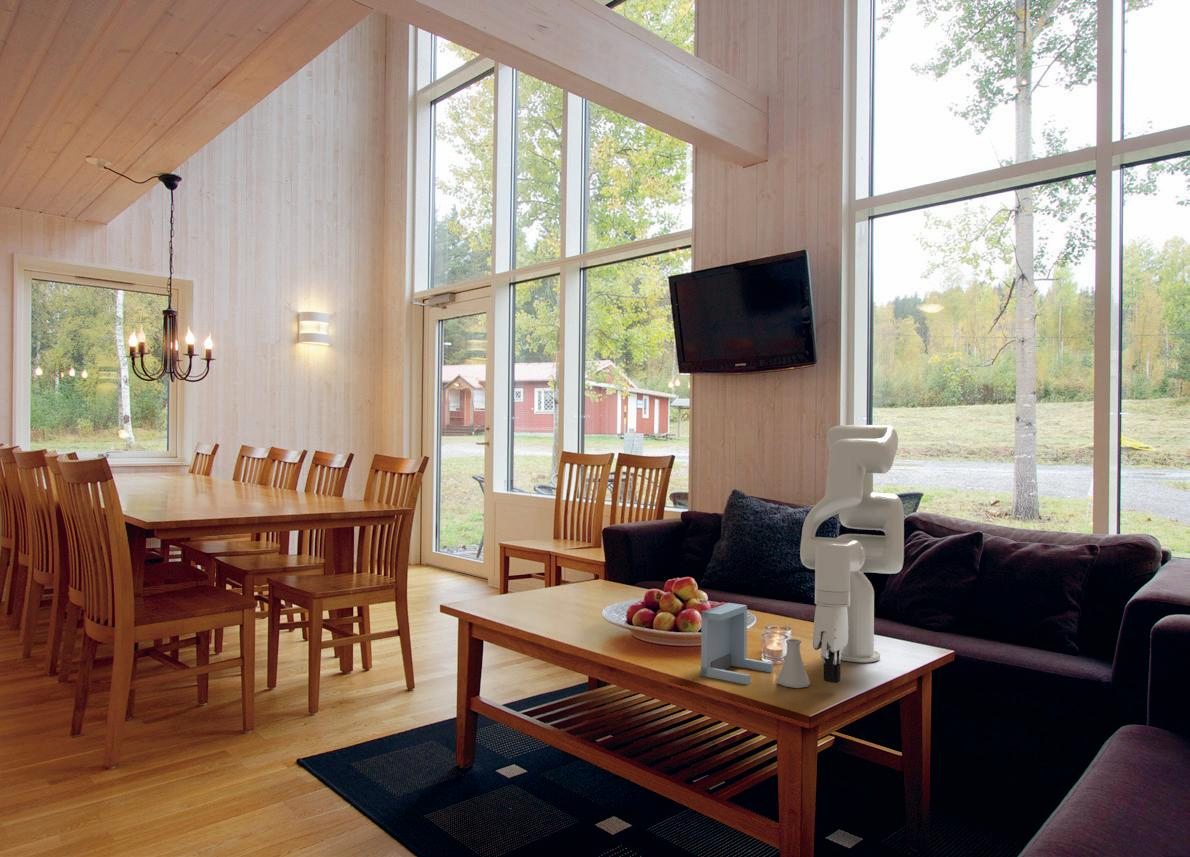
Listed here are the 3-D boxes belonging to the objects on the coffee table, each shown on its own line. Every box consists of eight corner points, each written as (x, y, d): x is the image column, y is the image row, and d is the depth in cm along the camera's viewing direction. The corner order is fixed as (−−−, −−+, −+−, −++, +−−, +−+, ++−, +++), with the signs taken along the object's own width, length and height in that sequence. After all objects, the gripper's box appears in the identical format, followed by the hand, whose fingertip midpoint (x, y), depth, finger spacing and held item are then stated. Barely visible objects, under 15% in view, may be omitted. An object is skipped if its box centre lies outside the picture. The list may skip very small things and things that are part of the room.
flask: (815, 684, 185) (816, 640, 186) (798, 691, 180) (799, 645, 180) (788, 678, 190) (788, 635, 191) (771, 684, 185) (771, 640, 186)
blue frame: (728, 663, 203) (728, 602, 203) (773, 671, 196) (773, 608, 196) (701, 675, 191) (701, 611, 192) (747, 684, 184) (748, 618, 185)
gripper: (827, 591, 189) (827, 671, 188) (803, 600, 177) (802, 685, 176) (860, 595, 184) (859, 677, 184) (837, 604, 172) (836, 692, 171)
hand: (831, 681), depth 180 cm, fingers closed
